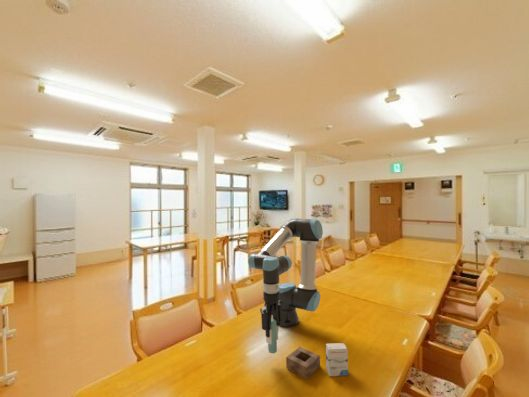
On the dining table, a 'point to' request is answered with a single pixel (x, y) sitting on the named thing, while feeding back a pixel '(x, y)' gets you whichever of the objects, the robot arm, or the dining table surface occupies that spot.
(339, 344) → the ink box
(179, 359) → the dining table surface
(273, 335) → the peg
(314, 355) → the socket block
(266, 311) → the robot arm
